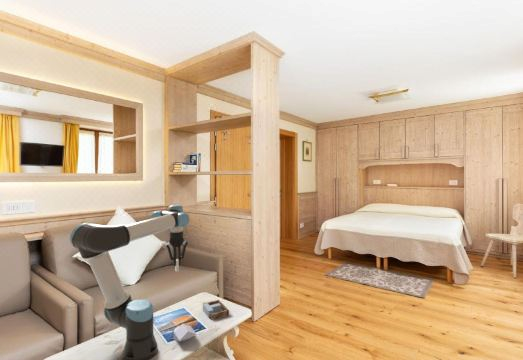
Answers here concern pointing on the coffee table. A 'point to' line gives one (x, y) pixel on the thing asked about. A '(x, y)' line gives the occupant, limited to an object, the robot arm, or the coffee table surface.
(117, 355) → the coffee table surface
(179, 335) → the pale lavender faceted block
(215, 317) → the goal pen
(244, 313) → the coffee table surface
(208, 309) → the t block
